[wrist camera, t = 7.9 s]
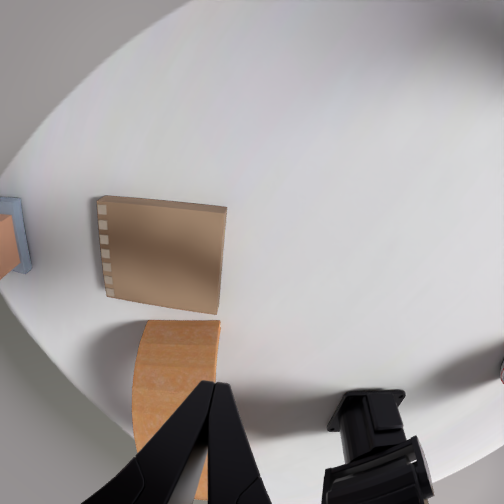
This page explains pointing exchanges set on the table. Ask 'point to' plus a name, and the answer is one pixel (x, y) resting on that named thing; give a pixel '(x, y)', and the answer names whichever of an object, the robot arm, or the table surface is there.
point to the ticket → (162, 252)
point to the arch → (171, 375)
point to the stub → (12, 238)
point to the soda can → (502, 372)
